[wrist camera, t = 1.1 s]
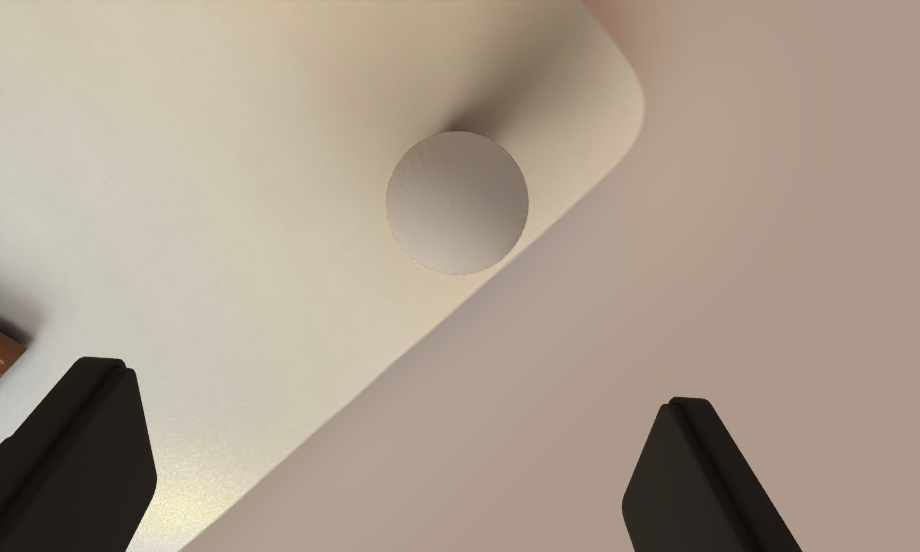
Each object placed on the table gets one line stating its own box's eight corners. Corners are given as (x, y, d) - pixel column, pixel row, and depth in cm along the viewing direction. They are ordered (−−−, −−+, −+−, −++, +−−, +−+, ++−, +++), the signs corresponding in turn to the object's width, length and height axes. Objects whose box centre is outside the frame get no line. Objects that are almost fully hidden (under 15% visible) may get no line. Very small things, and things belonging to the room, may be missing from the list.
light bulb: (380, 183, 30) (360, 277, 21) (416, 76, 27) (411, 133, 19) (481, 218, 31) (501, 319, 23) (525, 119, 29) (567, 191, 20)
